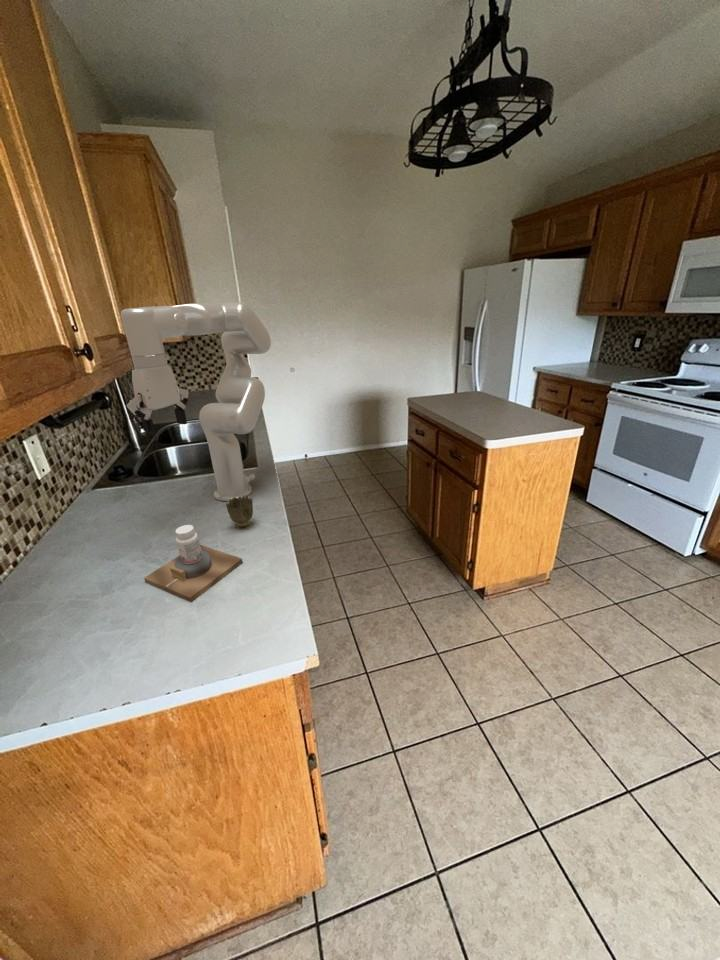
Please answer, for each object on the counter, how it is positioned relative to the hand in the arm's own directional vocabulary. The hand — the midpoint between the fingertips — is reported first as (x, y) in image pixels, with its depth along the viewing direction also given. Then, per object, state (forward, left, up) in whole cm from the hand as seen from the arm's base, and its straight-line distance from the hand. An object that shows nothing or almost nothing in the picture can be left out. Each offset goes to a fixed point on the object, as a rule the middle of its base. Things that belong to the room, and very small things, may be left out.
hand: (167, 428), depth 105 cm
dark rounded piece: (-7, +14, -31) cm, 34 cm away
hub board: (+15, +19, -30) cm, 39 cm away
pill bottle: (+15, +19, -27) cm, 36 cm away
